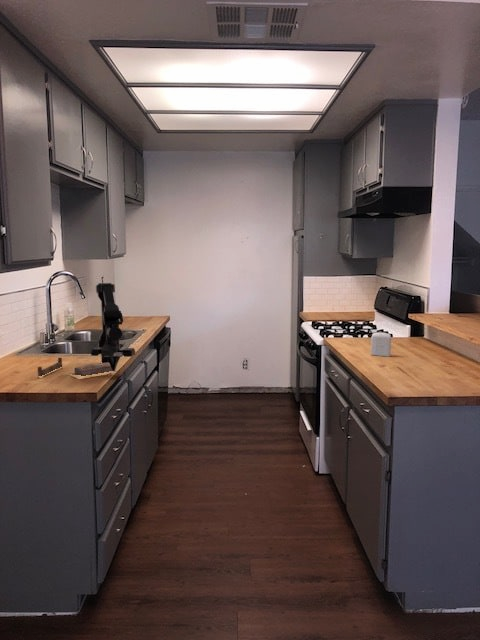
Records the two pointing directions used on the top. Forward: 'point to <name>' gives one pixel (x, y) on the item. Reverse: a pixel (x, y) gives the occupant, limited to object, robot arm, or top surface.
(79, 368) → the packaged product
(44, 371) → the stop board
